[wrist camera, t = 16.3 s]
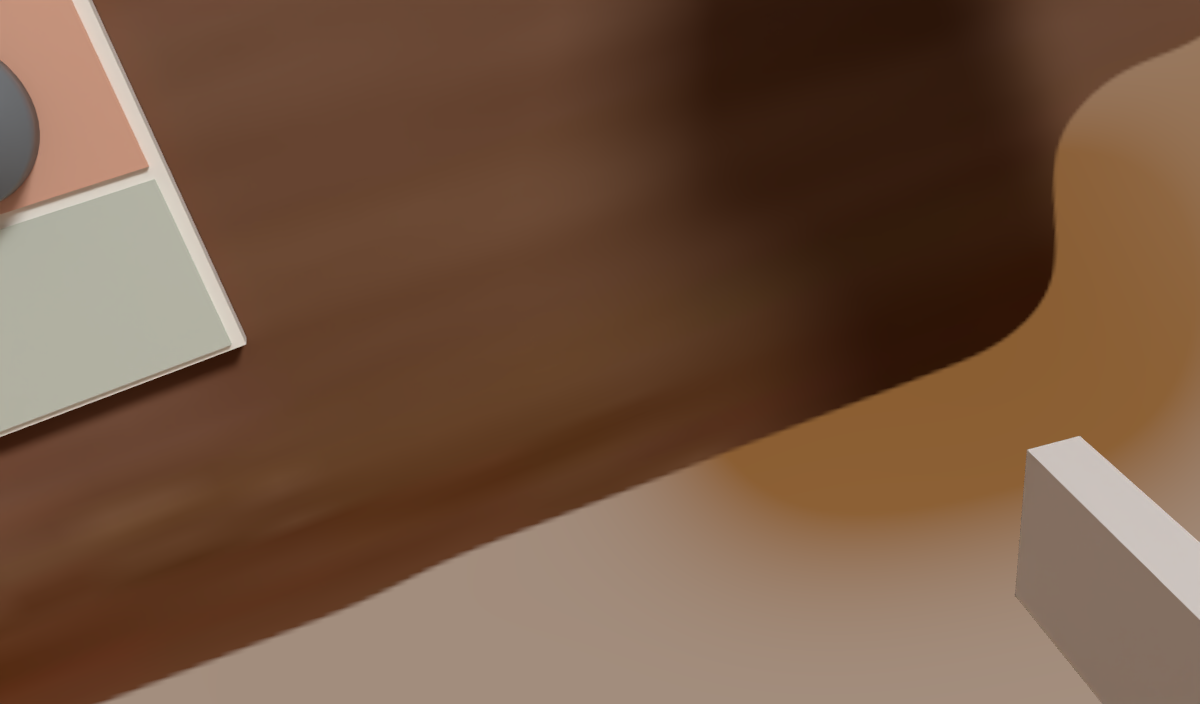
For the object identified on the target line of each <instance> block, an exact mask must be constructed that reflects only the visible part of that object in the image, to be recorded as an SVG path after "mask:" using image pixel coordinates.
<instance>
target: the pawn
mask: <svg viewBox="0 0 1200 704" xmlns="http://www.w3.org/2000/svg"><path fill="white" fill-rule="evenodd" d="M39 145H40V128H39V120H38V117H37V113H36V109H35V107H34V104H33V102H32V99H31V97H30V95H29V94H28V92H27V90H26V88H25V87H24V85H23V84H22V82H21V81H20V80H19V78H18V77H17V76H16V75H15V74H14V73H13V71H12V70H11V69H10V68H9V67H8V66H7V65H6V64H4V63H3V62H2V61H1V60H0V201H2V200H4V199H6V198H7V197H8V196H10V195H11V194H12V193H14V192H15V191H16V190H17V189H18V188H19V187H20V186H21V185H22V184H23V182H24V181H25V180H26V178H27V177H28V176H29V174H30V172H31V170H32V168H33V166H34V164H35V161H36V158H37V155H38V150H39Z"/></svg>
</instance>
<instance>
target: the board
mask: <svg viewBox="0 0 1200 704" xmlns="http://www.w3.org/2000/svg"><path fill="white" fill-rule="evenodd" d="M0 60H1V61H2V62H3V63H4V64H6V65H7V66H8V67H9V68H10V69H11V70H12V71H13V73H14V74H15V75H16V76H17V77H18V78H19V80H20V81H21V82H22V84H23V85H24V87H25V88H26V90H27V92H28V94H29V95H30V97H31V99H32V102H33V104H34V107H35V109H36V113H37V117H38V120H39V128H40V145H39V150H38V155H37V158H36V161H35V164H34V166H33V168H32V170H31V172H30V174H29V176H28V177H27V178H26V180H25V181H24V182H23V184H22V185H21V186H20V187H19V188H18V189H17V190H16V191H15V192H14V193H12V194H11V195H10V196H8V197H7V198H6V199H4V200H2V201H0V437H1V436H4V435H7V434H9V433H12V432H15V431H17V430H20V429H23V428H25V427H28V426H31V425H33V424H36V423H39V422H41V421H44V420H47V419H49V418H52V417H55V416H57V415H60V414H63V413H65V412H68V411H71V410H73V409H76V408H79V407H81V406H84V405H86V404H89V403H92V402H94V401H97V400H100V399H102V398H105V397H108V396H110V395H113V394H116V393H118V392H121V391H124V390H126V389H129V388H132V387H134V386H137V385H140V384H142V383H145V382H148V381H150V380H153V379H156V378H158V377H161V376H164V375H166V374H169V373H172V372H174V371H177V370H179V369H182V368H185V367H187V366H190V365H193V364H195V363H198V362H201V361H203V360H206V359H209V358H211V357H214V356H217V355H219V354H222V353H225V352H227V351H230V350H233V349H235V348H238V347H241V346H243V345H246V336H245V333H244V331H243V329H242V327H241V325H240V323H239V320H238V318H237V316H236V314H235V312H234V309H233V307H232V305H231V303H230V301H229V298H228V296H227V294H226V292H225V290H224V288H223V285H222V283H221V281H220V279H219V277H218V274H217V272H216V270H215V268H214V266H213V264H212V261H211V259H210V257H209V255H208V253H207V250H206V248H205V246H204V244H203V242H202V240H201V237H200V235H199V233H198V231H197V229H196V226H195V224H194V222H193V220H192V218H191V215H190V213H189V211H188V209H187V207H186V205H185V202H184V200H183V198H182V196H181V194H180V191H179V189H178V187H177V185H176V183H175V181H174V178H173V176H172V174H171V172H170V170H169V167H168V165H167V163H166V161H165V159H164V157H163V154H162V152H161V150H160V148H159V146H158V143H157V141H156V139H155V137H154V135H153V133H152V130H151V128H150V126H149V124H148V122H147V119H146V117H145V115H144V113H143V111H142V108H141V106H140V104H139V102H138V100H137V98H136V95H135V93H134V91H133V89H132V87H131V84H130V82H129V80H128V78H127V76H126V74H125V71H124V69H123V67H122V65H121V63H120V60H119V58H118V56H117V54H116V52H115V50H114V47H113V45H112V43H111V41H110V39H109V36H108V34H107V32H106V30H105V28H104V25H103V23H102V21H101V19H100V17H99V15H98V12H97V10H96V8H95V6H94V4H93V1H92V0H0Z"/></svg>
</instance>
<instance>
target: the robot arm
mask: <svg viewBox="0 0 1200 704" xmlns="http://www.w3.org/2000/svg"><path fill="white" fill-rule="evenodd" d="M1025 469H1026V470H1025V481H1024V493H1023V505H1022V517H1021V529H1020V541H1019V554H1018V566H1017V578H1016V590H1015V596H1016V597H1017V599H1018V600H1019V601H1020V602H1021V603H1022V605H1023V606H1024V607H1025V608H1026V610H1027V611H1028V612H1029V613H1030V615H1031V616H1032V617H1033V618H1034V620H1035V621H1036V622H1037V623H1038V625H1039V626H1040V627H1041V628H1042V629H1043V631H1044V632H1045V633H1046V634H1047V636H1048V637H1049V638H1050V639H1051V641H1052V642H1053V643H1054V644H1055V646H1056V647H1057V648H1058V649H1059V651H1060V652H1061V653H1062V654H1063V655H1064V657H1065V658H1066V659H1067V661H1068V662H1069V663H1070V664H1071V665H1072V667H1073V668H1074V669H1075V670H1076V672H1077V673H1078V674H1079V675H1080V677H1081V678H1082V679H1083V680H1084V682H1085V683H1086V684H1087V685H1088V687H1089V688H1090V689H1091V690H1092V692H1093V693H1094V694H1095V695H1096V696H1097V698H1098V699H1099V700H1100V702H1101V703H1102V704H1200V542H1199V541H1197V540H1196V539H1195V538H1194V537H1193V536H1192V535H1191V534H1190V533H1188V532H1187V531H1186V530H1185V529H1184V528H1183V527H1181V526H1180V525H1179V524H1178V523H1177V522H1176V521H1175V520H1174V519H1172V517H1170V516H1169V515H1168V514H1167V513H1166V512H1165V511H1164V510H1162V509H1161V508H1160V507H1159V506H1158V505H1157V504H1156V503H1154V502H1153V501H1152V500H1151V499H1150V498H1149V497H1148V496H1147V495H1146V494H1144V493H1143V492H1142V491H1141V490H1140V489H1139V488H1138V487H1137V486H1135V485H1134V484H1133V483H1132V482H1131V481H1130V480H1128V478H1126V477H1125V476H1124V475H1123V474H1122V473H1121V472H1120V471H1118V470H1117V469H1116V468H1115V467H1114V466H1113V465H1112V464H1110V462H1108V461H1107V460H1106V459H1105V458H1104V457H1103V456H1102V455H1100V454H1099V453H1098V452H1097V451H1096V450H1095V449H1093V447H1091V446H1090V445H1089V444H1088V443H1087V442H1086V441H1085V440H1084V439H1082V438H1081V437H1080V436H1078V437H1074V438H1070V439H1067V440H1063V441H1059V442H1055V443H1051V444H1047V445H1043V446H1040V447H1036V448H1032V449H1028V450H1027V456H1026V468H1025Z"/></svg>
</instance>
